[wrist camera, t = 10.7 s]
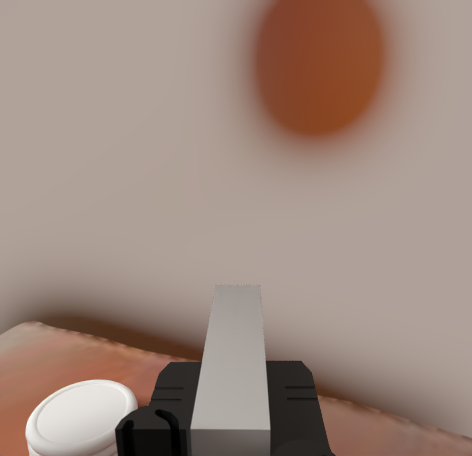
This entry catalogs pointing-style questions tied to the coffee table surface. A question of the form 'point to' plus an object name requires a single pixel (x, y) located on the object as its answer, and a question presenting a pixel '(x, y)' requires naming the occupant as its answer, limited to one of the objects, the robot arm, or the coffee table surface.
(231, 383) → the robot arm
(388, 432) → the coffee table surface
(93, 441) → the coaster
